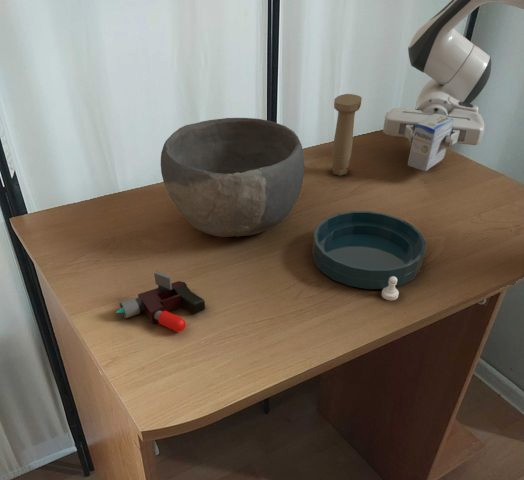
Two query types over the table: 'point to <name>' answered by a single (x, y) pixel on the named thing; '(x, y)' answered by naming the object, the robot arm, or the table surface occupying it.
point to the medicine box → (429, 142)
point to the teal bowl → (368, 249)
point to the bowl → (233, 174)
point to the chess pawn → (391, 290)
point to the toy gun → (164, 303)
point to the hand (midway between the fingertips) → (430, 140)
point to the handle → (344, 131)
